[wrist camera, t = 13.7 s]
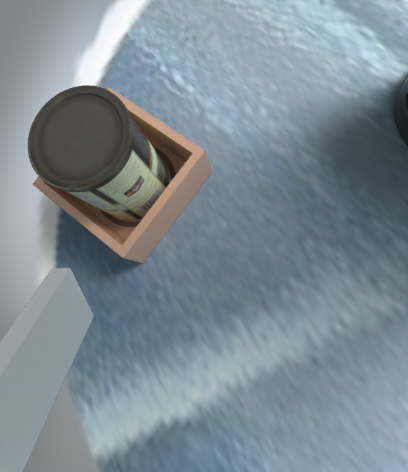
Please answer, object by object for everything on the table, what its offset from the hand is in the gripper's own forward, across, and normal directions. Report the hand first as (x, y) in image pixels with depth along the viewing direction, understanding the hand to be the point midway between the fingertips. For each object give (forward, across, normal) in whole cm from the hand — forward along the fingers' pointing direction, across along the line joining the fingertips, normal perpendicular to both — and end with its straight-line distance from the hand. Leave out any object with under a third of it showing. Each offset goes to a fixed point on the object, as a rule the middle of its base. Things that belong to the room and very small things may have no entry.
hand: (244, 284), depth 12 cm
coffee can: (+29, -15, -9) cm, 34 cm away
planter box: (+30, -15, -9) cm, 34 cm away
